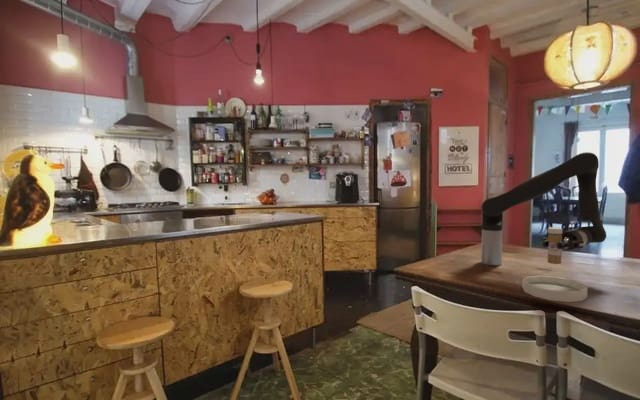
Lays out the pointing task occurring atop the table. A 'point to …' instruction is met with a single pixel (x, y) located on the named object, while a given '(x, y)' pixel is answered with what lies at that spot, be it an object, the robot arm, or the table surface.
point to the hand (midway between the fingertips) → (551, 245)
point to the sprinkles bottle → (554, 245)
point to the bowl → (554, 288)
